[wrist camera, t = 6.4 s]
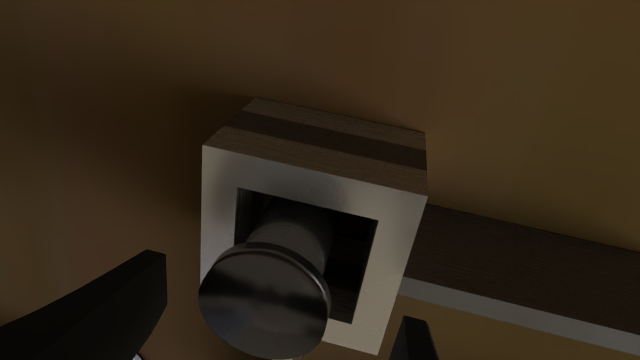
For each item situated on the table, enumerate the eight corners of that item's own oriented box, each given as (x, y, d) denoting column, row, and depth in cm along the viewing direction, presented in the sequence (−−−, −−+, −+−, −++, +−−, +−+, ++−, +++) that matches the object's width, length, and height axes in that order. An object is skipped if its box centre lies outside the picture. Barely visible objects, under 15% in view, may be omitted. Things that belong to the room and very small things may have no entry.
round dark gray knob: (374, 203, 19) (350, 343, 12) (303, 232, 20) (246, 370, 14) (331, 130, 18) (278, 241, 11) (259, 166, 19) (173, 283, 12)
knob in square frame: (532, 461, 25) (558, 572, 20) (234, 376, 26) (197, 461, 22) (722, 196, 16) (840, 290, 11) (256, 97, 18) (202, 145, 13)
